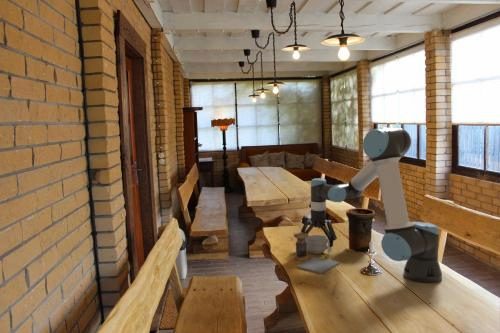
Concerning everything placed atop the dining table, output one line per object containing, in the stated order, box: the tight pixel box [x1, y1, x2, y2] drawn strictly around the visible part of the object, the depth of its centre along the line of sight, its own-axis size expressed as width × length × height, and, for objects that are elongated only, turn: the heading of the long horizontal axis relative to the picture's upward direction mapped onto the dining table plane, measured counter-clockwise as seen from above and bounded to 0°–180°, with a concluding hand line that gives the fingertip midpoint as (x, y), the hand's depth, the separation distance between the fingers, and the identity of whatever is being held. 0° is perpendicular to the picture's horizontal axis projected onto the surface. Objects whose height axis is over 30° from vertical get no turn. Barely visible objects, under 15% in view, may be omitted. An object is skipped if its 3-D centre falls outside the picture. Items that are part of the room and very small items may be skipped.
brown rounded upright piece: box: [293, 232, 310, 262], centre depth 207 cm, size 7×7×12 cm
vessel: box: [345, 207, 376, 253], centre depth 220 cm, size 14×14×20 cm
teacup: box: [306, 234, 329, 255], centre depth 216 cm, size 14×11×8 cm
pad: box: [296, 256, 340, 275], centre depth 197 cm, size 13×16×1 cm
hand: (318, 250), depth 217 cm, fingers closed on teacup, 12 cm apart
